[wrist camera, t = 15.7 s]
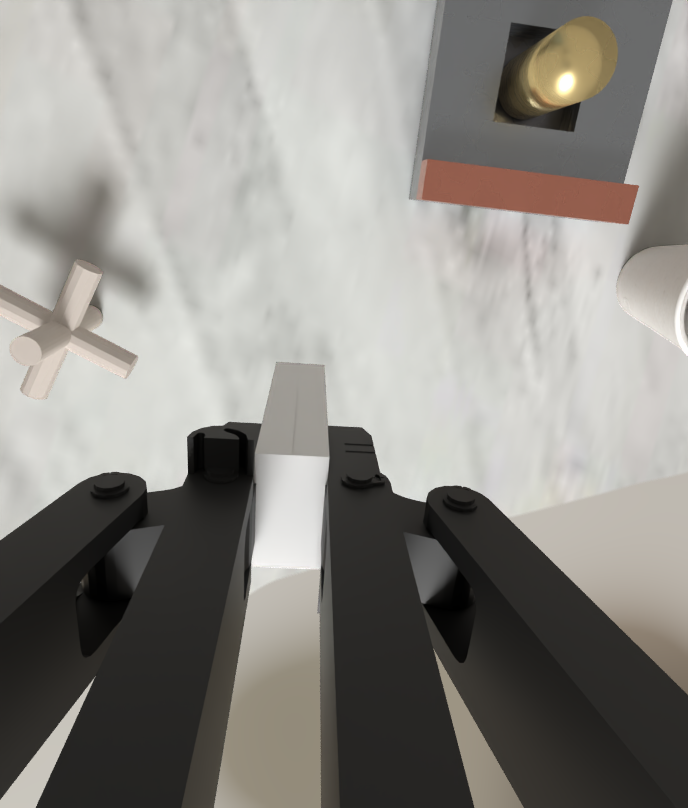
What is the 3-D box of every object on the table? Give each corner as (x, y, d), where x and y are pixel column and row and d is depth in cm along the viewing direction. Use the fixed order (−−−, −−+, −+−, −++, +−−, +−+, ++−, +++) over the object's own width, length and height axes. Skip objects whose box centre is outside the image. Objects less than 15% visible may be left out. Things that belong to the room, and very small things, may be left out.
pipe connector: (2, 339, 42) (-87, 380, 33) (50, 222, 39) (-33, 229, 30) (125, 400, 44) (75, 455, 35) (179, 293, 42) (139, 321, 32)
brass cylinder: (492, 114, 38) (537, 94, 30) (505, 48, 36) (556, 9, 29) (547, 123, 38) (605, 106, 31) (562, 58, 37) (627, 23, 29)
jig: (447, -72, 34) (468, -114, 30) (658, -38, 36) (710, -73, 31) (409, 199, 40) (421, 199, 35) (592, 221, 41) (628, 224, 36)
